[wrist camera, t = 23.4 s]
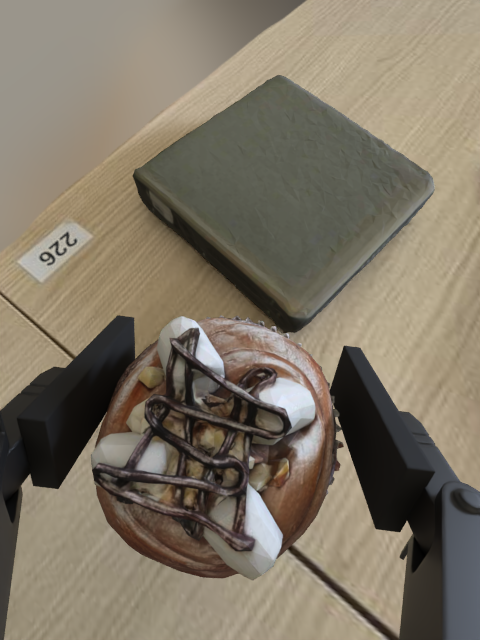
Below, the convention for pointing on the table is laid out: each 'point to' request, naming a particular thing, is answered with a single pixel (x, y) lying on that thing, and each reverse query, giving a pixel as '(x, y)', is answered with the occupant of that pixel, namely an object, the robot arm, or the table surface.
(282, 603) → the table surface
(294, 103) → the network switch
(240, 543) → the cupcake
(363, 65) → the table surface
